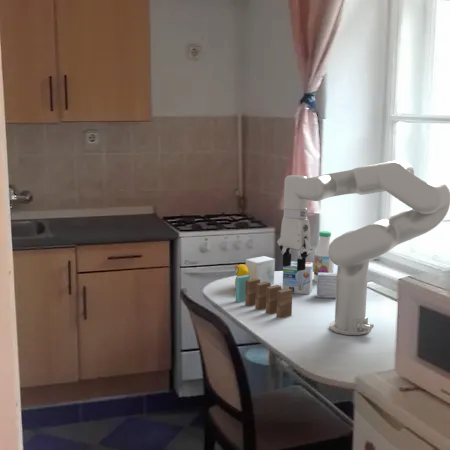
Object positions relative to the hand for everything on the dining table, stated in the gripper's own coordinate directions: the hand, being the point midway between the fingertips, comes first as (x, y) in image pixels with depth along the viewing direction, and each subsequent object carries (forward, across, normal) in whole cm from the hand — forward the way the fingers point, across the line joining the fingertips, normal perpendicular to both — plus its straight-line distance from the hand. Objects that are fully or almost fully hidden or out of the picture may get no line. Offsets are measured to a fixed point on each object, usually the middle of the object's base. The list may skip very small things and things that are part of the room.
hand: (293, 267), depth 226 cm
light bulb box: (+18, +24, -25) cm, 39 cm away
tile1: (+18, +4, 0) cm, 18 cm away
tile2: (+18, +10, 0) cm, 20 cm away
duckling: (+18, +36, -8) cm, 41 cm away
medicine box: (+18, +12, -29) cm, 36 cm away
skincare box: (+18, +39, -19) cm, 47 cm away
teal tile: (+18, +26, 0) cm, 31 cm away
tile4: (+18, +20, 0) cm, 27 cm away
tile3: (+18, +15, 0) cm, 23 cm away
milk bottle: (+18, +29, -44) cm, 56 cm away
